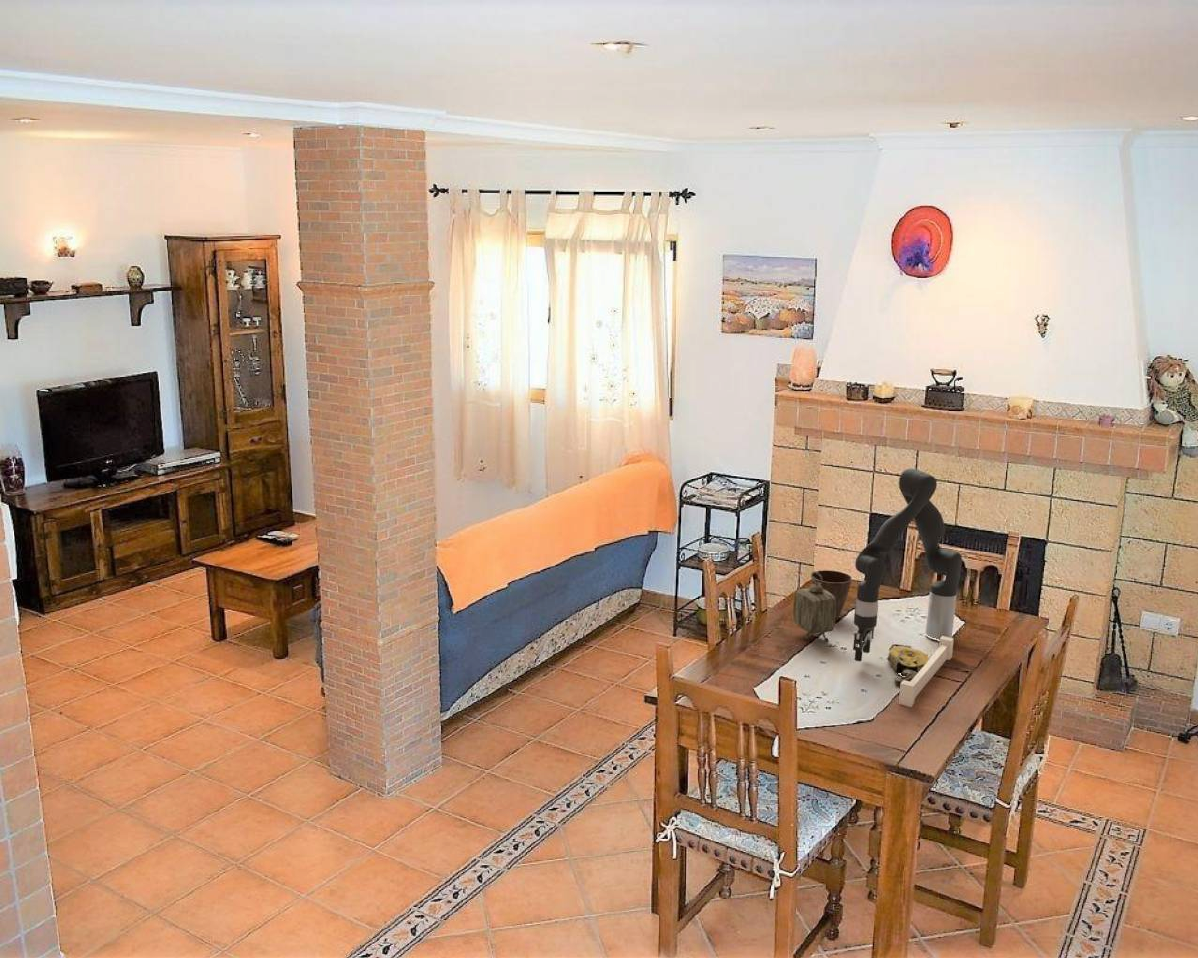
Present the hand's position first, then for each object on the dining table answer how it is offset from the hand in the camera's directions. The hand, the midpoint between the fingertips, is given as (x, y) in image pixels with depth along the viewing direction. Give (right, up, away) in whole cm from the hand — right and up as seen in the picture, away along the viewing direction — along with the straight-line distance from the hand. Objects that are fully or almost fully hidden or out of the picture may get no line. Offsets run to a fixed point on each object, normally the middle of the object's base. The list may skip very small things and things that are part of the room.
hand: (862, 656), depth 373 cm
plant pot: (-2, +8, +45) cm, 45 cm away
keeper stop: (+19, -6, -10) cm, 22 cm away
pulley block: (+14, -5, -4) cm, 15 cm away
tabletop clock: (-13, +3, +23) cm, 26 cm away
